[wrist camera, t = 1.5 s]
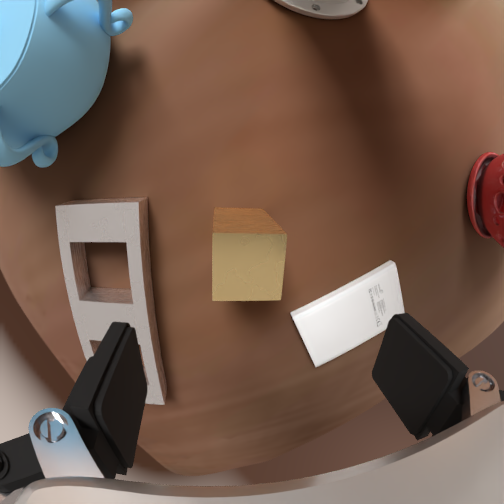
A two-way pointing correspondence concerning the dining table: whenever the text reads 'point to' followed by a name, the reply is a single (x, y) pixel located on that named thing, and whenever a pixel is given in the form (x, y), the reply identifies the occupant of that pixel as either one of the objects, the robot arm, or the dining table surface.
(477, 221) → the plant pot
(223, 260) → the gold rectangular block
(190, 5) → the dining table surface
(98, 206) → the grey slotted plate
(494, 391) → the robot arm
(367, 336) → the external hard drive
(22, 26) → the decorative pot
